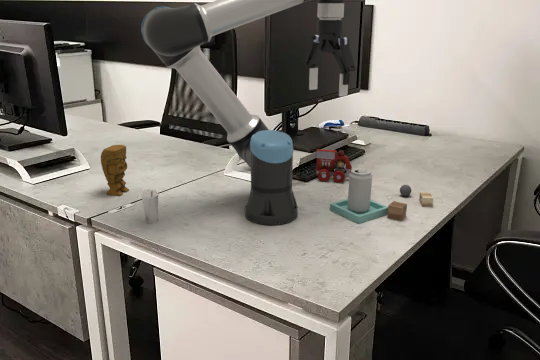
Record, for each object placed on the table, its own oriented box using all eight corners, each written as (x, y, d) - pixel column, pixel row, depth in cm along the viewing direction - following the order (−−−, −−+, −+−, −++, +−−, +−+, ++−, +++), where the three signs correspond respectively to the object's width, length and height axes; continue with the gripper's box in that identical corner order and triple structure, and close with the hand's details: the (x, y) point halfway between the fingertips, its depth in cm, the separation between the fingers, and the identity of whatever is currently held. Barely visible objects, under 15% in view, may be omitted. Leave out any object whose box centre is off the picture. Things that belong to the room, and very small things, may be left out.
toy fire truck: (349, 184, 174) (351, 154, 171) (313, 181, 177) (314, 151, 174) (351, 177, 181) (353, 148, 177) (316, 174, 184) (317, 146, 180)
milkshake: (145, 226, 142) (143, 192, 139) (142, 219, 147) (139, 186, 143) (162, 224, 144) (160, 190, 140) (158, 216, 148) (155, 183, 145)
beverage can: (346, 205, 155) (348, 167, 151) (367, 205, 155) (370, 167, 151) (348, 214, 149) (351, 174, 145) (371, 214, 149) (374, 174, 145)
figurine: (119, 197, 163) (115, 151, 158) (101, 195, 164) (96, 149, 159) (131, 189, 169) (127, 145, 164) (114, 187, 171) (109, 143, 166)
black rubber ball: (405, 198, 162) (406, 187, 160) (396, 195, 164) (397, 184, 163) (413, 196, 164) (414, 185, 162) (404, 192, 166) (405, 182, 165)
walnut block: (400, 221, 146) (402, 208, 144) (387, 218, 148) (388, 205, 146) (405, 216, 149) (407, 203, 147) (392, 213, 151) (393, 200, 150)
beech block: (432, 207, 155) (433, 198, 154) (421, 207, 156) (422, 197, 155) (428, 201, 160) (429, 192, 159) (418, 201, 160) (419, 191, 159)
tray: (358, 223, 144) (359, 217, 143) (329, 209, 153) (329, 203, 153) (388, 213, 150) (389, 207, 150) (359, 201, 160) (359, 195, 159)
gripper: (371, 20, 143) (366, 97, 150) (312, 17, 162) (310, 85, 169) (351, 20, 139) (347, 100, 146) (293, 17, 158) (292, 88, 165)
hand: (327, 92), depth 158 cm, fingers open, 13 cm apart
